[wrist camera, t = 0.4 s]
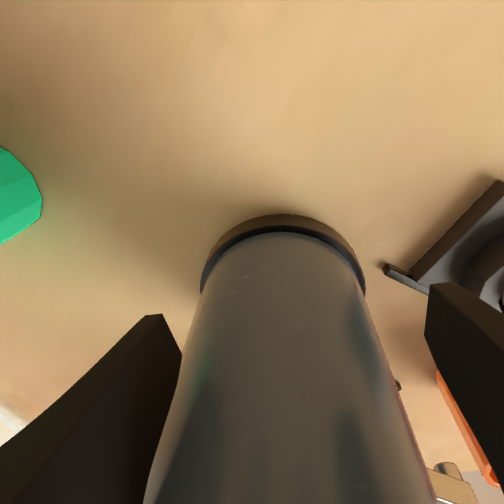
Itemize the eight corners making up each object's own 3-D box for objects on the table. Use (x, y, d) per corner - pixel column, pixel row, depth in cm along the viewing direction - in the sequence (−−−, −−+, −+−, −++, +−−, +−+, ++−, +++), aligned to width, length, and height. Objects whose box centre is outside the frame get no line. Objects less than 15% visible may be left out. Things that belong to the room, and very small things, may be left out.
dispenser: (495, 307, 21) (898, 762, 7) (391, 389, 26) (510, 737, 13) (243, 184, 18) (119, 578, 4) (184, 306, 23) (46, 650, 9)
